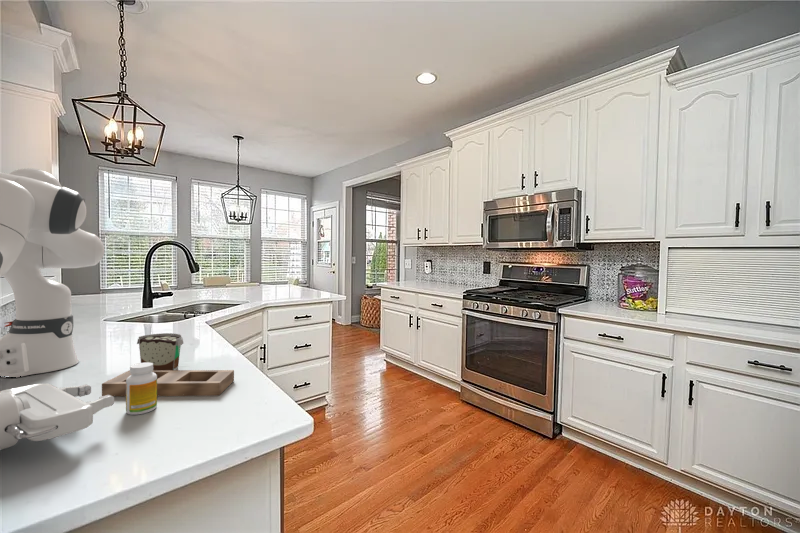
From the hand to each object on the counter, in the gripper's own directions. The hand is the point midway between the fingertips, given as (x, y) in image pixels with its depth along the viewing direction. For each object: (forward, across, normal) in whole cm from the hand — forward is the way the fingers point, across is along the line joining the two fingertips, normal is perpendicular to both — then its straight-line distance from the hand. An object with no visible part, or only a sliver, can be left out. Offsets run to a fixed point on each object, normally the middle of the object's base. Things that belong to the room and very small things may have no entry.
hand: (100, 393), depth 69 cm
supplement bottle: (+7, 0, +6) cm, 9 cm away
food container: (+24, +22, +6) cm, 33 cm away
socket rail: (+17, +7, +6) cm, 19 cm away
